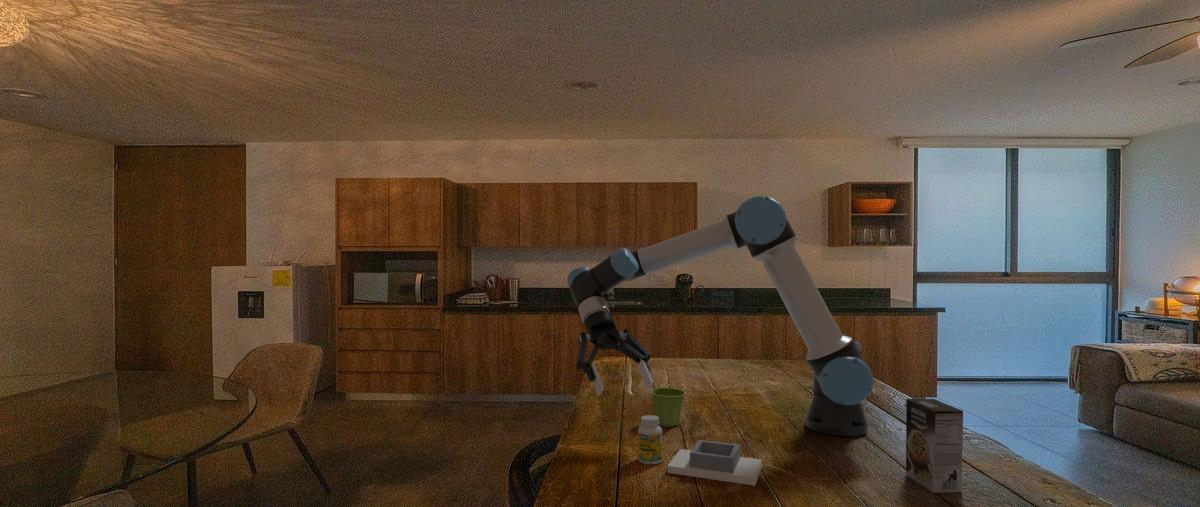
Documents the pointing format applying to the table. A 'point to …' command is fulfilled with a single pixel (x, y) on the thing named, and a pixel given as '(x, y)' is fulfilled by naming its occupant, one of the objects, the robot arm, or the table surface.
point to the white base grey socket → (716, 463)
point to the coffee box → (934, 445)
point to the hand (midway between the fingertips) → (626, 388)
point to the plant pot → (668, 405)
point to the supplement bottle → (650, 440)
